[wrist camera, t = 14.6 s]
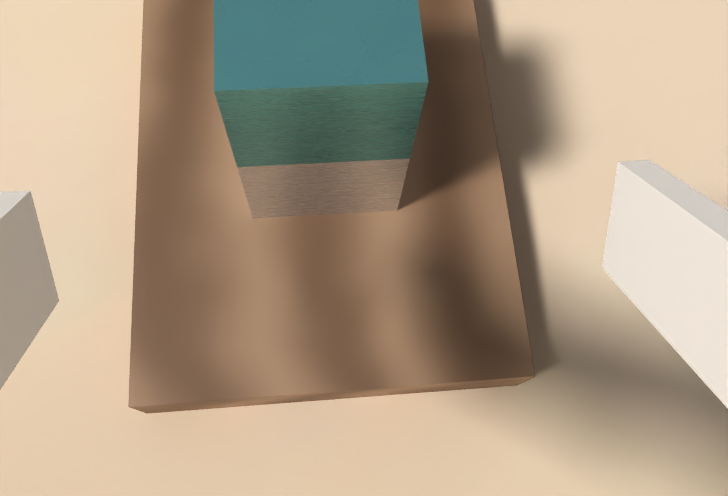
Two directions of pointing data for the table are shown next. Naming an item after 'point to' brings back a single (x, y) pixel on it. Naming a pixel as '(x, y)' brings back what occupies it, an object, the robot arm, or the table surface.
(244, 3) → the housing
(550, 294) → the table surface
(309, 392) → the walnut stand
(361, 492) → the table surface
